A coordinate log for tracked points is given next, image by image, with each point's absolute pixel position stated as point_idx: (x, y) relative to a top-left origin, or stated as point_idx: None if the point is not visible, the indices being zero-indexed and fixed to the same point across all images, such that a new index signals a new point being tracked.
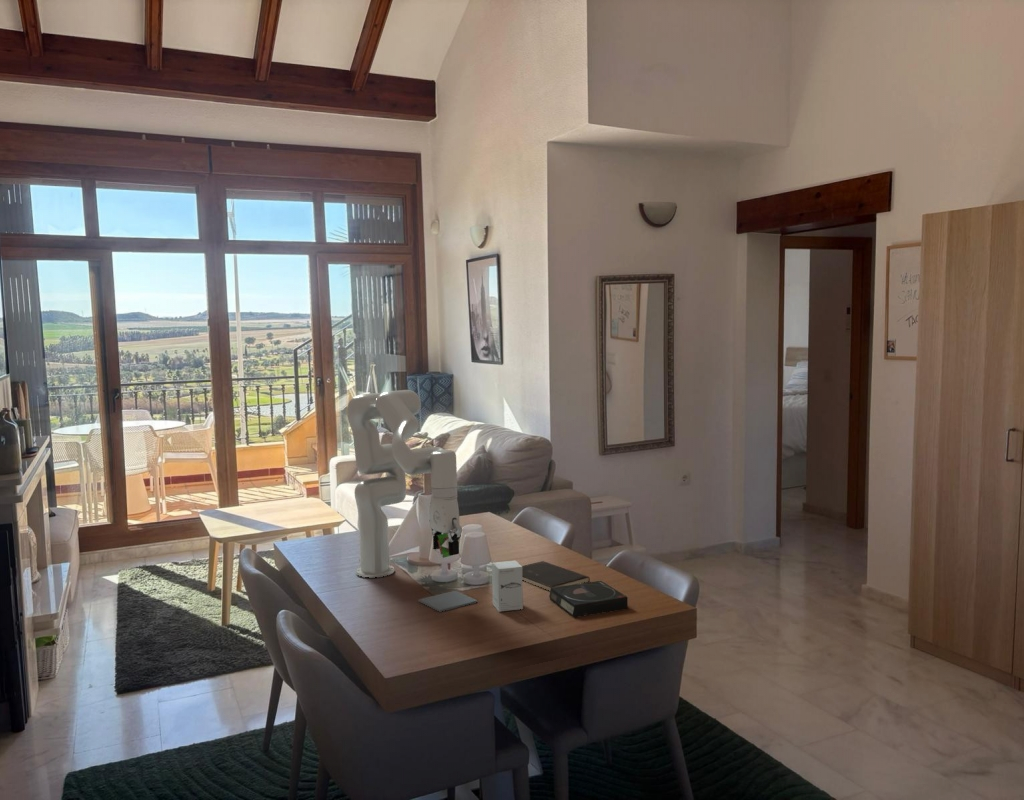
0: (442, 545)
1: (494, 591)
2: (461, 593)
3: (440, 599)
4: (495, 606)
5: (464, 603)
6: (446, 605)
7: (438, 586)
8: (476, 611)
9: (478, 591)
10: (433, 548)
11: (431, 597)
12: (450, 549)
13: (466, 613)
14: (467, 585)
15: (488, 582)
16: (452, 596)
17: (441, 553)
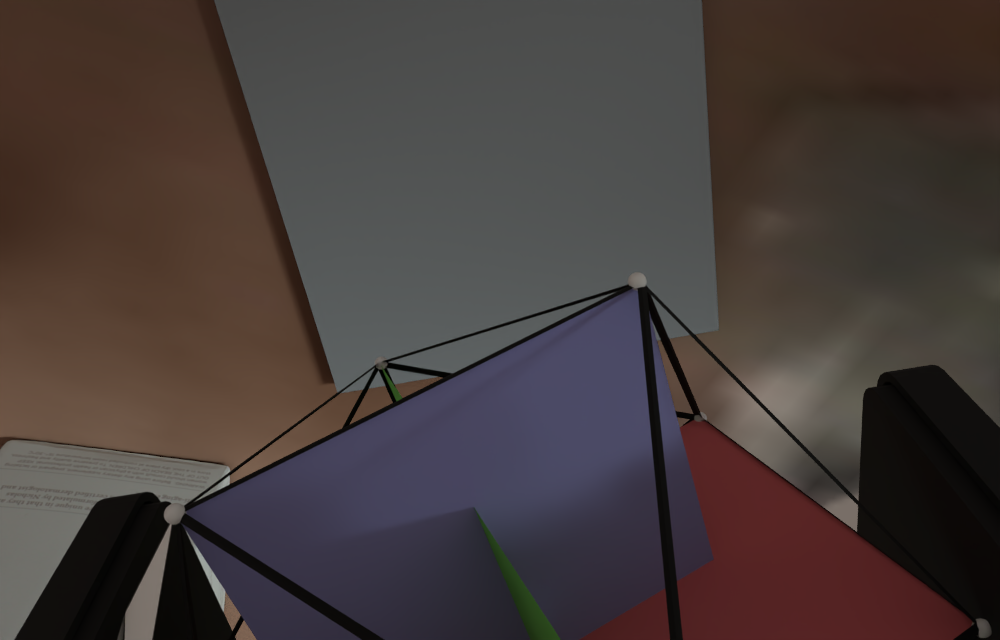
0: (159, 567)
1: None
2: None
3: (549, 100)
4: (119, 459)
5: (305, 267)
6: (323, 83)
7: (994, 248)
8: (101, 291)
9: None
10: (605, 297)
11: (670, 34)
12: (43, 630)
13: (74, 192)
14: None
15: None
16: (568, 243)
17: (691, 430)
